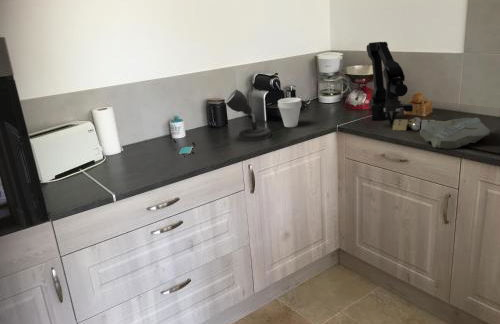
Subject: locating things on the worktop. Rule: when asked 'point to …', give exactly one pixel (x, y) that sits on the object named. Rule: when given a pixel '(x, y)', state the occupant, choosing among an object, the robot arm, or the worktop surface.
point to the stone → (454, 132)
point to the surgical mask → (185, 149)
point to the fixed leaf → (417, 123)
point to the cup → (290, 111)
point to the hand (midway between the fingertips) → (391, 124)
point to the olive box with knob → (402, 124)
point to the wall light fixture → (240, 104)
